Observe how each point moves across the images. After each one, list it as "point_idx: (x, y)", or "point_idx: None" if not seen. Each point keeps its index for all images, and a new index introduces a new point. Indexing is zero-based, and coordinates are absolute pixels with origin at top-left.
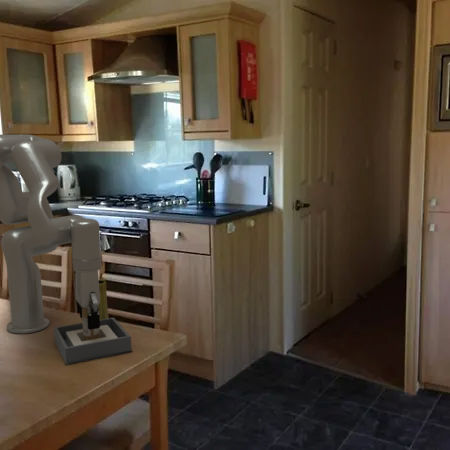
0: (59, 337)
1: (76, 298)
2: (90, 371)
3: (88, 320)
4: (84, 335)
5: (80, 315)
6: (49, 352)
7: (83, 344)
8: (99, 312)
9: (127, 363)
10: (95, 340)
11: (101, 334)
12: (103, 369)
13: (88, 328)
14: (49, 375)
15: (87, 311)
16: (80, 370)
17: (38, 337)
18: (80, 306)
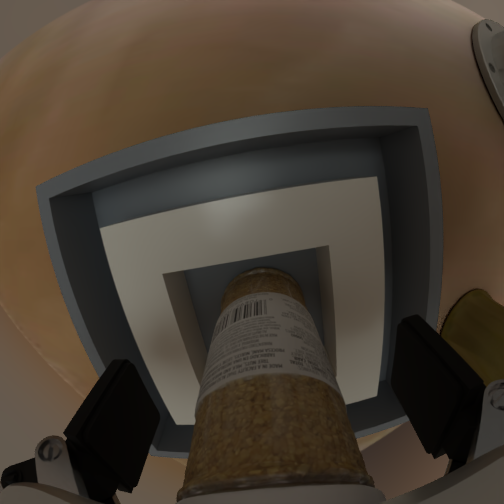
0: (216, 125)
1: (490, 494)
2: (35, 273)
3: (84, 407)
4: (236, 299)
5: (416, 327)
6: (256, 91)
7: (67, 285)
8: (482, 366)
9: (84, 382)
10: (163, 345)
11: None
12: (46, 313)
13: (112, 362)
14: (34, 134)
15: (188, 472)
16: (42, 240)
17: (445, 77)
18: (462, 384)
